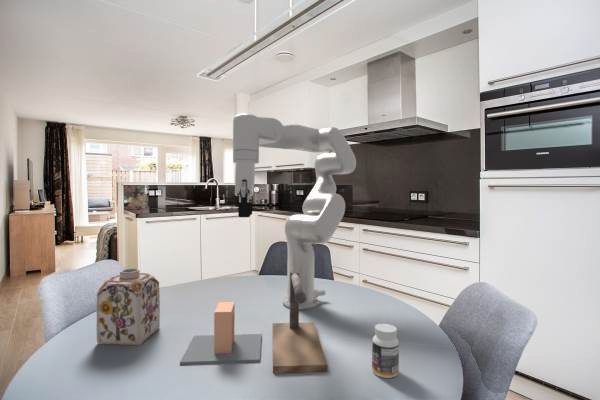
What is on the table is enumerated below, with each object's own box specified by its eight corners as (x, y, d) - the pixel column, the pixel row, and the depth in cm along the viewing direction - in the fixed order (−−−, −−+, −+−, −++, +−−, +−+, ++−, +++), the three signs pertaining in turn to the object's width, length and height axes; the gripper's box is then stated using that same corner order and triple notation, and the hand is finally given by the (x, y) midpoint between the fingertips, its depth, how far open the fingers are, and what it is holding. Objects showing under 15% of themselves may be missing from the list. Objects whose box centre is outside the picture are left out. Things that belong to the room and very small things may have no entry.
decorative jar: (121, 326, 97) (121, 264, 97) (160, 327, 97) (160, 265, 96) (94, 345, 85) (94, 275, 85) (139, 346, 85) (139, 275, 84)
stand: (313, 327, 98) (314, 268, 97) (327, 371, 74) (328, 293, 73) (272, 328, 97) (273, 268, 96) (272, 373, 73) (273, 294, 72)
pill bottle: (368, 365, 76) (369, 322, 76) (393, 365, 77) (393, 322, 77) (376, 379, 71) (377, 333, 70) (402, 378, 71) (403, 332, 71)
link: (218, 340, 87) (219, 302, 87) (234, 339, 88) (234, 302, 87) (214, 353, 80) (214, 312, 80) (231, 353, 80) (231, 311, 80)
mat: (261, 336, 92) (261, 333, 92) (259, 362, 78) (259, 359, 78) (194, 337, 90) (194, 335, 90) (179, 364, 76) (179, 362, 76)
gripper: (236, 160, 107) (235, 214, 107) (229, 154, 89) (229, 218, 90) (259, 160, 107) (259, 214, 108) (257, 154, 90) (257, 218, 90)
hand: (245, 215), depth 99 cm, fingers open, 9 cm apart
